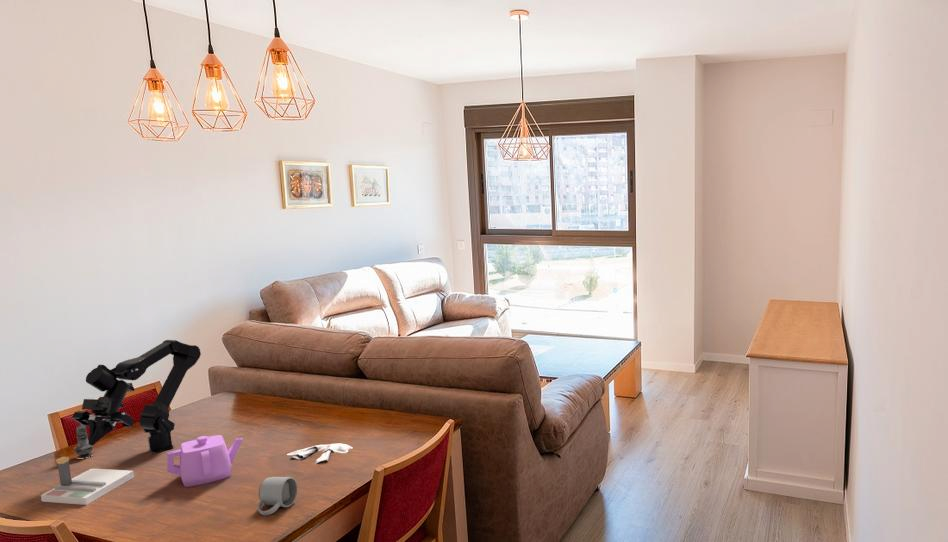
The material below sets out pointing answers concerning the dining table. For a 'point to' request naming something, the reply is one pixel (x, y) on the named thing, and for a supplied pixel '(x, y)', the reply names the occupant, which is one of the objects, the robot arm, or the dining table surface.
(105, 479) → the switch board
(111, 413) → the robot arm
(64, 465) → the knob
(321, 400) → the dining table surface
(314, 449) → the cloth
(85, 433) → the grey statuette
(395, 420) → the dining table surface
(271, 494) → the ceramic mug
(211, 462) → the teakettle
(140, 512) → the dining table surface
